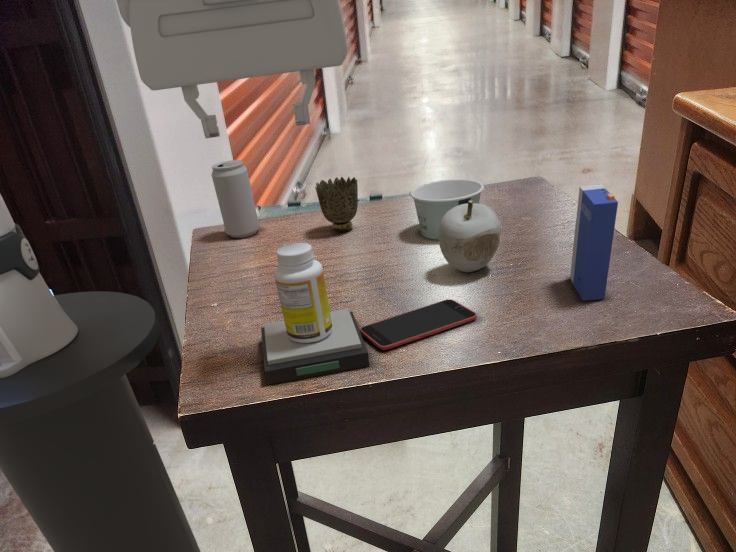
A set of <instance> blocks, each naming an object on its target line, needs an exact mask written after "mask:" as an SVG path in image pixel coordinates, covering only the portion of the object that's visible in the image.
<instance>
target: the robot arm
mask: <svg viewBox="0 0 736 552" xmlns="http://www.w3.org/2000/svg"><path fill="white" fill-rule="evenodd" d="M115 1H116V5H117V7H118V11H119V15H120V17H121V19H122V20H123V22H124V23H125V25H127V27H129V28H130V35H131V41H132V47H133V51H134V52H133V53H134V57H135V62H136V66H137V70H138V74H139V77H140V81H141V82H142V83H143V84H144V85H145V86H146V87H147V88H148V89H149V90H150V91H162V90H169V89H176V88H181V93H182V96H183V100H184V102H185V103H186V105H187V106H188V107H189V108H190V109H191V111H192V112H193V113H194V114H195V116H196V117H197V118H198V119H199V120H200V122H201V127H202V130H203V131H202V132H203V136H204V137H205V139H211V138H212V139H213V138H218V137H221V132H220V127H219V126H218V119H217V115H216V114H207V112H206V111H205V109H204V108H203V107H202V105H201V104H200V103H199V102H198V101H197V100H198V99H199V97H200V91H199V86H198V85H206V84H207V85H208V84H213V83H221V82H229V81H237V80H244V79H253V78H259V77H265V76H266V77H267V76H273V75H281V74H289V73H295V72H298V74H299V81H300V83H301V84H302V85H304V88H303V91H302V95H301V97H300V101H299V102H297V103H292V109H293V113H294V122H295V126H306V125H311V119H310V112H309V104H310V102H311V99H312V96H313V93H314V90H315V87H316V84H317V83H316V76H315V70H320V69H326V68H334V67H340V66H342V65H343V64H344V62H345V61H346V59H347V56H348V55H349V47H348V38H347V31H346V26H345V20H344V16H343V11H342V6H341V2H340V1H341V0H115ZM54 295H55V294H54V293H53V291H52V289H50V288H49V286H48V285H47V283H46V281H45V279H44V278H43V276H42V275H41V272H40V267H39V264H38V261H37V257H36V255H35V254H34V250H33V248H32V246H31V244H30V242H29V240H28V239H27V238H26V236H25V234H24V232H23V230H22V228H21V226H20V225H19V224H18V223H16V222H15V221H14V219H13V217H12V215H11V213H10V210H9V209H8V207H7V205H6V201H5V200H4V198H3V196H2V194H1V193H0V378H5V377H8V376H11V375H13V374H15V373H17V372H18V371H20V370H21V369H23V368H25V367H26V366H28V365H30V364H32V363H34V362H36V361H39V360H41V359H43V358H45V357H48V356H50V355H52V354H54V353H55V352H57V351H59V350H61V349H62V348H64V347H65V346H66V345H68V344H69V343H70V342H71V341H72V340H73V339H74V338H75V337H76V335H77V333H78V327H77V326H76V325H75V324H74V322H73V321H72V320H71V319H70V318H69V317H68V315H67V314H66V313H65V311H64V310H63V309H62V307H61V306H60V305H59V303H58V302H57V300H56V299H55V297H54Z"/></svg>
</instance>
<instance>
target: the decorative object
mask: <svg viewBox="0 0 736 552" xmlns="http://www.w3.org/2000/svg"><path fill="white" fill-rule="evenodd" d="M501 225H502V224H501V221H500V219H499V216H498V215H497V213H496V212H495V211H494V210H493V209H492V208H491V207H489V206H487V205H485V204H482V203H479V204H477V203H473V201H472V200H469V201H468V203H467V204H461V205H458V206H456V207H454V208H452V209H451V210H449V211H448V212H447V213H446V214H445V215H444V217H443V218H442V220H441V222H440V226H439V231H438V235H439V240H438V244H439V248H440V251H441V252H440V253H442V255H443V258H444V259H445V261H446V262H447V263H448V265H449V266H451V267H452V268H453V269H455V270H457V271H460V272H462V273H473V272H476V271H479V270H481V269H482V268H484V267H486V266H487V265H488V264H489V263H490V262H491V261H492V259H493V257H495V254H496V253H497V251H498V248H499V245H500V240H501V234H502V227H501Z"/></svg>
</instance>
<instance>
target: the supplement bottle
mask: <svg viewBox="0 0 736 552" xmlns="http://www.w3.org/2000/svg"><path fill="white" fill-rule="evenodd" d="M276 259H277V263H278V266H277V267H276V268H275V269H274V272H273V277H274V281H275V286H276V290H277V295H278V299H279V300H278V301H279V304H280V308H281V313H282V318H283V320H284V322H285V326H286V331H287V334H288V337H289V338H290V339H291V340H293V341H295V342H299V343H311V342H316V341H319V340H322V339H324V338H325V337H327V336H328V335H329V334H330V333H331V331H332V321H331V315H330V312H331V311H330V309H331V308H330V305H329V297H328V291H327V286H326V281H325V275H324V270H323V269H324V268H323V265H322V263H321V262H320V261H319V260H316V259H315V255H314V252H313V246H312V245H311V244H310V243H307V242H293V243H287V244H285V245H282V246H280V247H278V249H276Z"/></svg>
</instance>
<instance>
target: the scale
mask: <svg viewBox="0 0 736 552" xmlns="http://www.w3.org/2000/svg"><path fill="white" fill-rule="evenodd" d="M330 315H331V321H332V331H331V333H330V334H329V335H328V336H327V337H325V338H324V339H322V340H319V341H316V342H311V343H299V342H295V341H293V340H291V339H290V338H289V337H288V334H287V331H286V326H285V322H284V319H282V320H276V321H273V322H272V321H271V322H265V323H263V327H261V328H260V333H261V343H262V345H261V346H262V356H263V365H264V366H263V367H264V375H265V378H266V383H267V385H268V386H271V385H275V384H276V385H277V384H282V383H287V382H291V381H298V380H303V379H307V378H313V377H318V376H324V375H330V374H335V373H340V372H346V371H352V370H356V369H361V368H366V367H370V366H371V365H370V359H369V358H370V357H369V352H368V349H367V347H366V344H365V341H364V339H363V335H362V334H361V333H360V327H359V325H358V322H357V320H356V316H355V314H354V312H353V311H350V309H349V308H343V309H339V310H338V309H337V310H333V311H330Z"/></svg>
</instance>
